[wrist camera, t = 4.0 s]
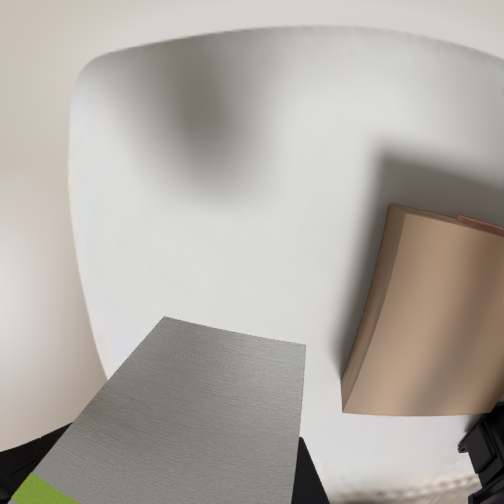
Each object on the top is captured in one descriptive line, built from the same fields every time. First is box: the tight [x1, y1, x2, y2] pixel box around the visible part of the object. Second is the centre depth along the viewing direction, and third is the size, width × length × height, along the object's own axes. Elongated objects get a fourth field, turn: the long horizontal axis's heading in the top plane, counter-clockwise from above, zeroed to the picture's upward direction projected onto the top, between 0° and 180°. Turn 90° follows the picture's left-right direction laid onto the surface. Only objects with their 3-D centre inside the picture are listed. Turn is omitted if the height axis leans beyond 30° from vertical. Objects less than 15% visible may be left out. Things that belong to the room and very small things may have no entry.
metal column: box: [8, 316, 306, 504], centre depth 6 cm, size 4×4×8 cm
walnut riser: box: [341, 203, 504, 416], centre depth 15 cm, size 12×12×3 cm
